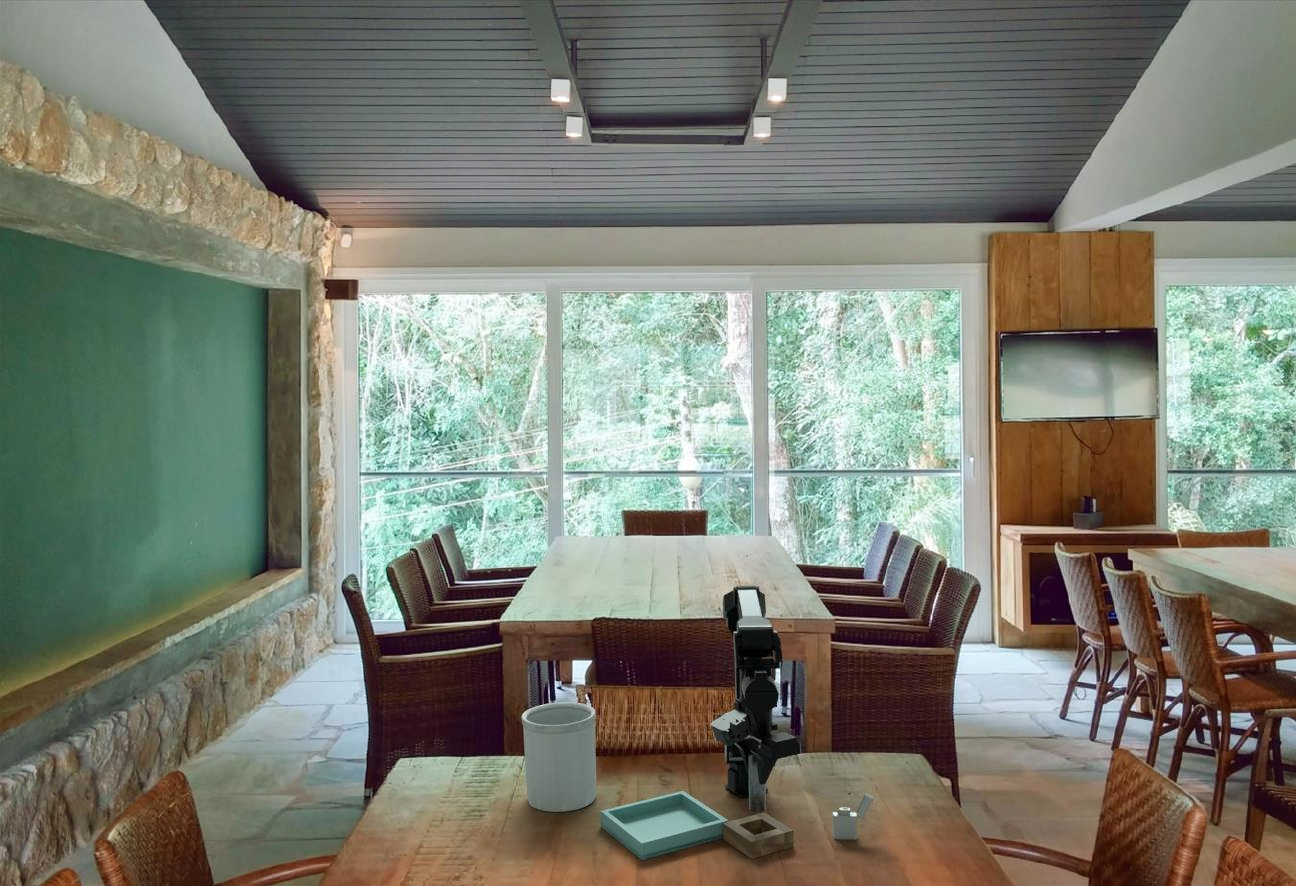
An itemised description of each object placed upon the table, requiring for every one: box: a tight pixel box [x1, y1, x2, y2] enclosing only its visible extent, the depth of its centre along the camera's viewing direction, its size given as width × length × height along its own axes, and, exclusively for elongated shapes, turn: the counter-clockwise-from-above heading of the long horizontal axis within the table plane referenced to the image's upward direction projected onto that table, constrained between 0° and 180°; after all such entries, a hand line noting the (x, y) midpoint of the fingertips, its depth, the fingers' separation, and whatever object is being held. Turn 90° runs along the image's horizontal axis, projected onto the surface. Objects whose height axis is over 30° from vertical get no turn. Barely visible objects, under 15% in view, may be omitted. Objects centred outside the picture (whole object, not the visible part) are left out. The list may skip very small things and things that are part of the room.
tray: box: [600, 790, 729, 861], centre depth 188 cm, size 18×16×3 cm
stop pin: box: [748, 752, 767, 813], centre depth 182 cm, size 3×3×10 cm
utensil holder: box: [521, 701, 597, 813], centre depth 204 cm, size 15×15×18 cm
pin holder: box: [722, 811, 795, 860], centre depth 183 cm, size 9×9×3 cm
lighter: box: [832, 792, 874, 840], centre depth 184 cm, size 7×2×8 cm, turn 85°
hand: (757, 780), depth 182 cm, fingers closed on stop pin, 3 cm apart
